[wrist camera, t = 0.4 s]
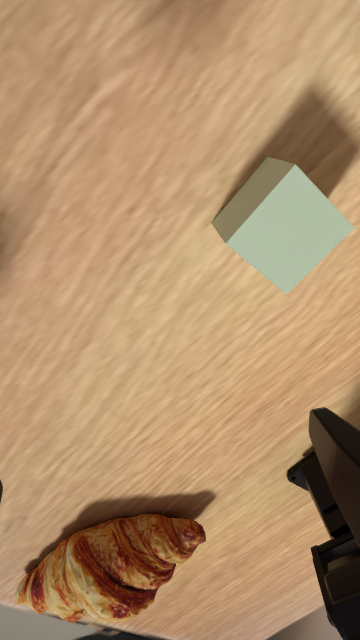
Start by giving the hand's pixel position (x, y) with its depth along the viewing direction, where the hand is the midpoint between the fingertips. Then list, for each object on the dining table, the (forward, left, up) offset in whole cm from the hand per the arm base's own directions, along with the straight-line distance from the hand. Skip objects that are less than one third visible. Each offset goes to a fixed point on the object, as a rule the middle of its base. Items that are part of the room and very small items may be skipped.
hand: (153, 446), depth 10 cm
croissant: (-14, +26, -14) cm, 33 cm away
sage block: (-3, -7, -13) cm, 15 cm away
